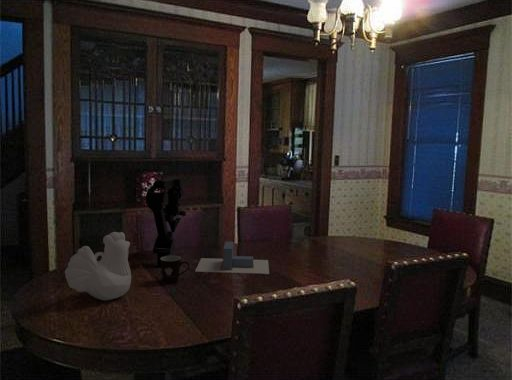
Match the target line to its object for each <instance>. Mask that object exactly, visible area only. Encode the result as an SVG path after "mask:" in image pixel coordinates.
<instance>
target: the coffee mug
mask: <svg viewBox="0 0 512 380" xmlns="http://www.w3.org/2000/svg"><path fill="white" fill-rule="evenodd" d="M160 260H161V267H160V268H161V276H162V283H164V284H171V285H172V284H176V283H178V282H179V277H180V276H181V275H183V274H184V273H186V272H187V271H189V269H190V263H189V262H187V261H182V262H181V260H182V257H181V256H179V255H170V256H164V257H161V258H160ZM183 264H186V265H187V269H185V270H183V271H182V272H180V268H181V266H182V265H183Z"/></svg>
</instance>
